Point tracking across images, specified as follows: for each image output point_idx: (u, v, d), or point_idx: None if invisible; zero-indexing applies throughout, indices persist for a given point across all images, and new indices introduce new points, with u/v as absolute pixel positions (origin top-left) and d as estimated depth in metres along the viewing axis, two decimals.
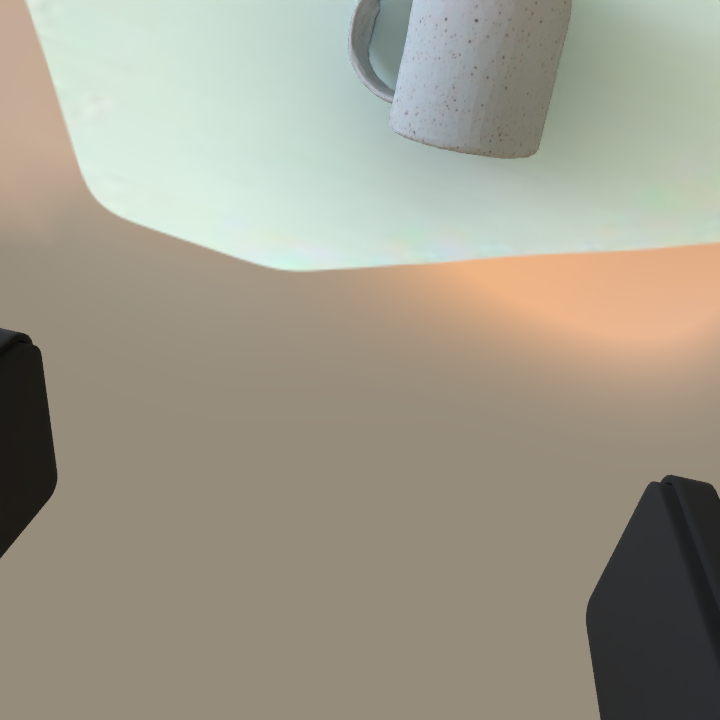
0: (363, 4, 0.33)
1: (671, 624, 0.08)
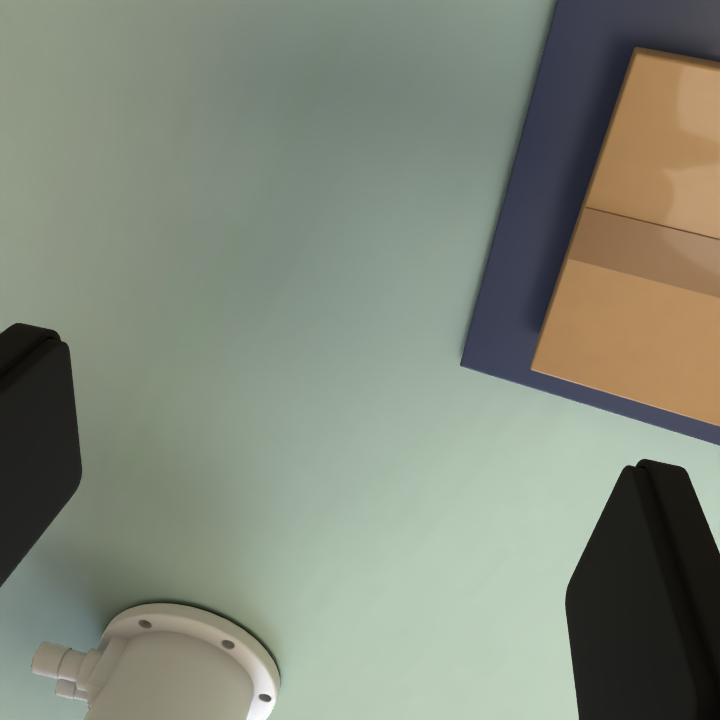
0: None
1: (641, 601, 0.08)
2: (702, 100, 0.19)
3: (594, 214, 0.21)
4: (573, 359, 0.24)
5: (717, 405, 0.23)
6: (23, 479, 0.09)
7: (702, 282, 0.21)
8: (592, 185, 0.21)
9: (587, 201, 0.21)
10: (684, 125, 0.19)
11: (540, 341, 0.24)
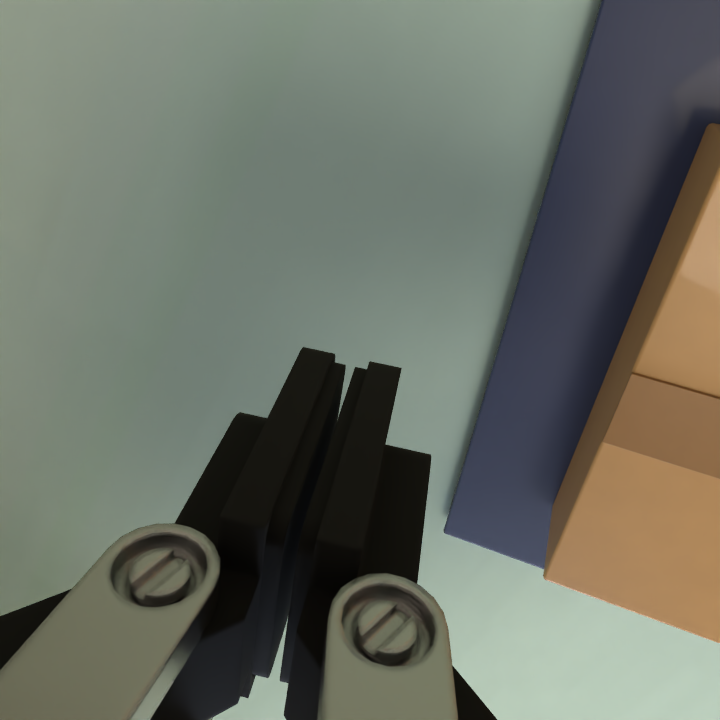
0: None
1: None
2: None
3: (648, 384, 0.14)
4: (608, 573, 0.16)
5: None
6: None
7: None
8: (645, 342, 0.13)
9: (636, 364, 0.14)
10: None
11: (559, 545, 0.16)
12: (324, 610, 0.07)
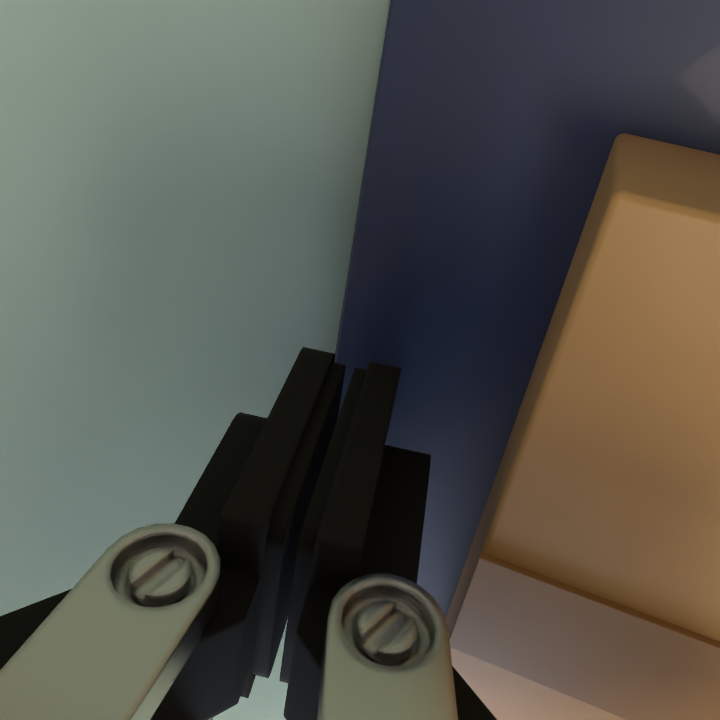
0: None
1: None
2: None
3: (508, 573, 0.08)
4: None
5: None
6: None
7: None
8: (499, 510, 0.08)
9: (488, 542, 0.08)
10: None
11: None
12: (323, 610, 0.07)
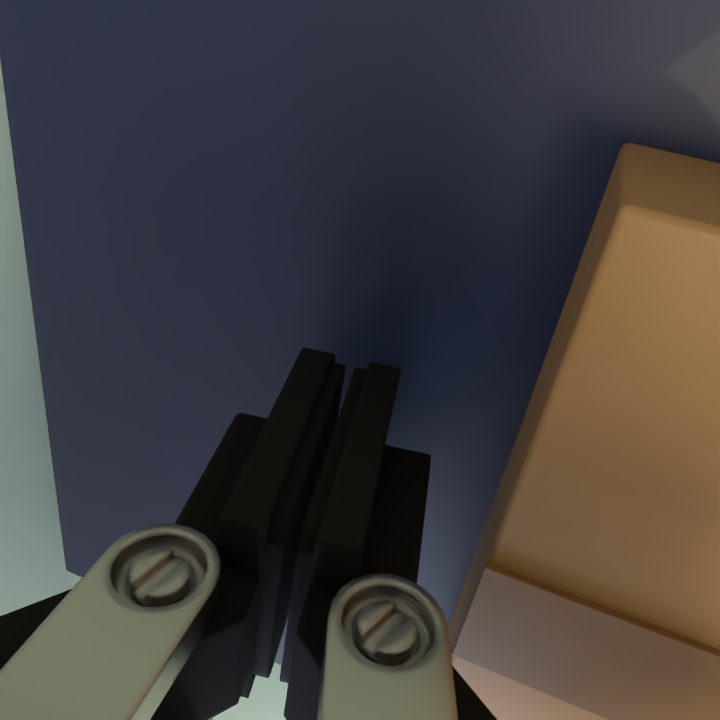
0: None
1: None
2: None
3: (514, 583, 0.08)
4: None
5: None
6: None
7: None
8: (504, 521, 0.08)
9: (494, 552, 0.08)
10: None
11: None
12: (323, 610, 0.07)
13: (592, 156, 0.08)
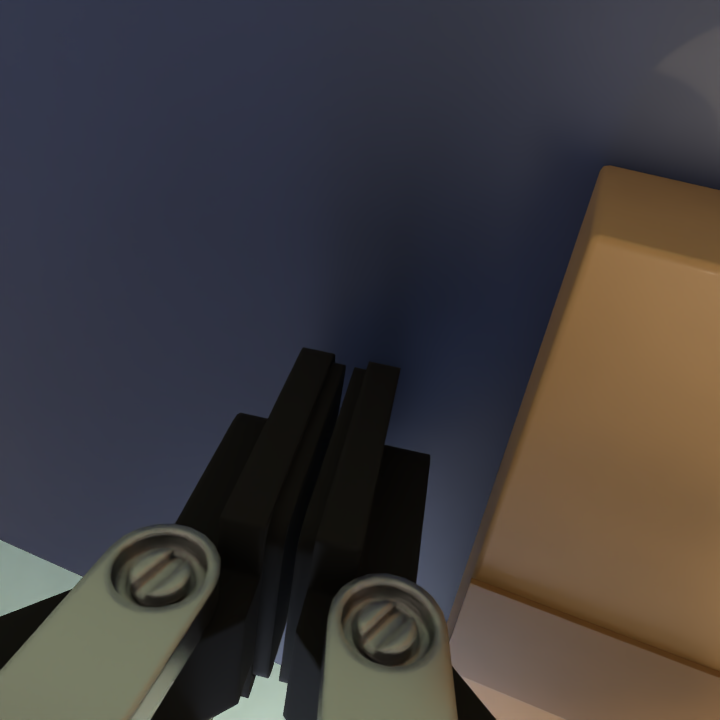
0: None
1: None
2: None
3: (499, 598, 0.08)
4: None
5: None
6: None
7: None
8: (488, 537, 0.08)
9: (478, 567, 0.08)
10: None
11: None
12: (323, 610, 0.07)
13: (301, 88, 0.09)
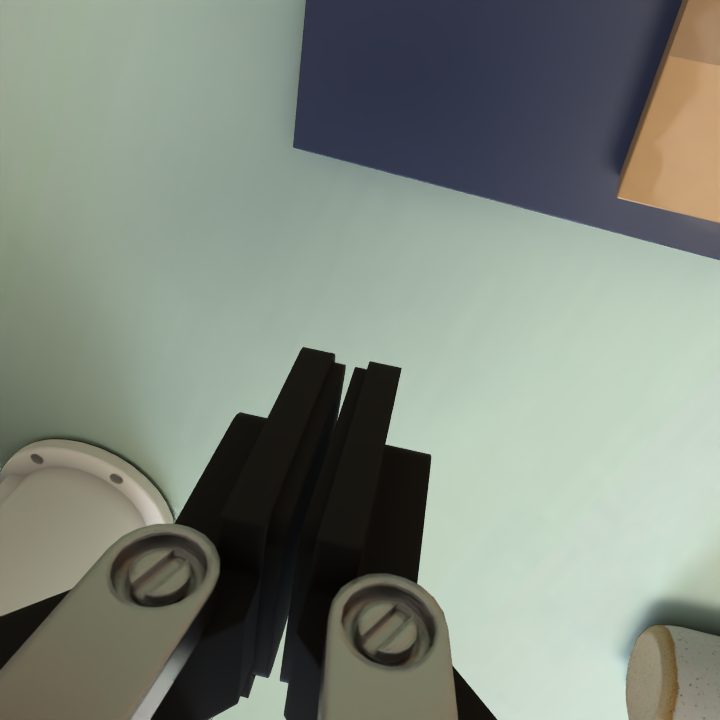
0: None
1: None
2: None
3: None
4: (666, 181, 0.22)
5: None
6: None
7: None
8: None
9: None
10: None
11: (630, 162, 0.22)
12: (323, 610, 0.07)
13: None
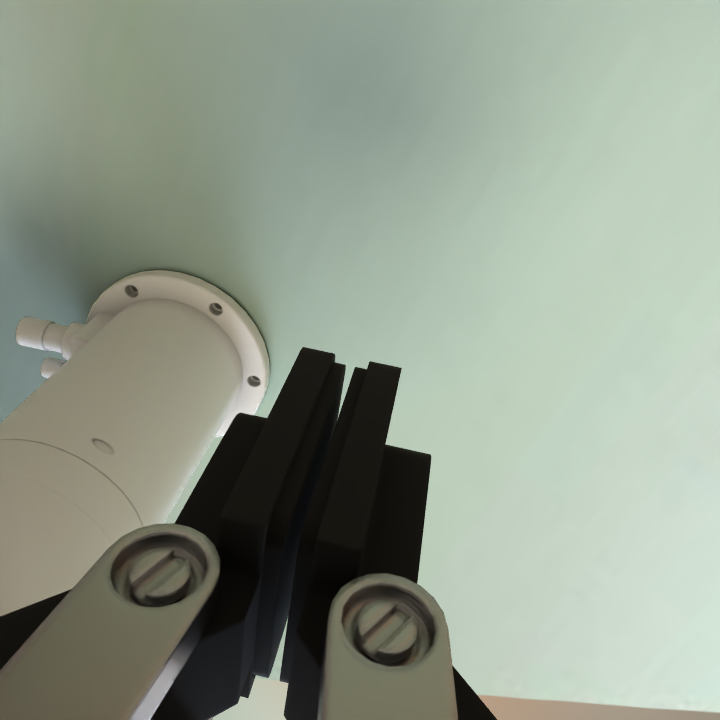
0: None
1: None
2: None
3: None
4: None
5: None
6: None
7: None
8: None
9: None
10: None
11: None
12: (324, 610, 0.07)
13: None
